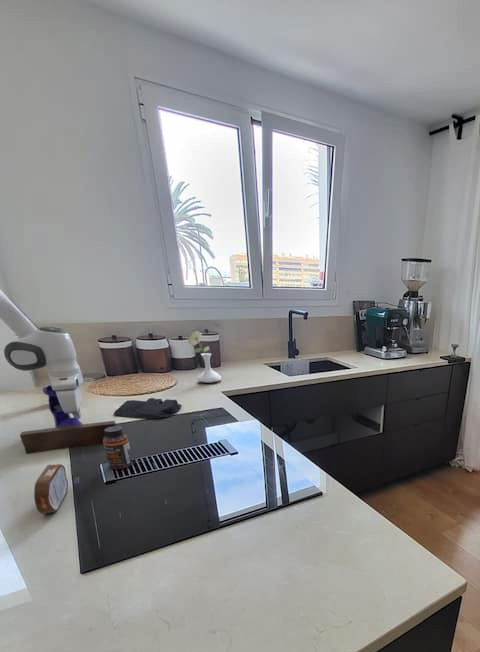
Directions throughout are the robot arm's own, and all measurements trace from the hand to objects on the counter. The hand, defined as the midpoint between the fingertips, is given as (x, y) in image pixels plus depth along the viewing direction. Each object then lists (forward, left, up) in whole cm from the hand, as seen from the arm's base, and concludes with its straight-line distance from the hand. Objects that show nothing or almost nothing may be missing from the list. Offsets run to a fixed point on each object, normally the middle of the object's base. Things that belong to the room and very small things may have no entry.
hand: (78, 417), depth 135 cm
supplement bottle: (+13, -38, -4) cm, 41 cm away
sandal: (-3, -3, -4) cm, 6 cm away
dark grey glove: (+22, +10, -4) cm, 24 cm away
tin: (0, -54, -4) cm, 54 cm away
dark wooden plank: (0, -16, -4) cm, 17 cm away
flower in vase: (+50, +48, -4) cm, 69 cm away
